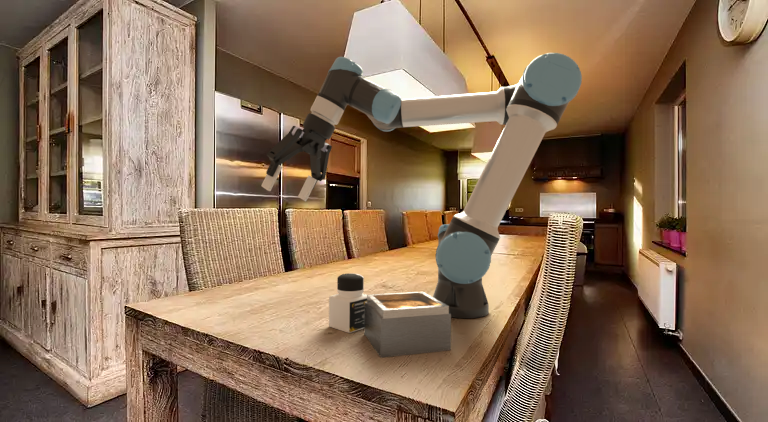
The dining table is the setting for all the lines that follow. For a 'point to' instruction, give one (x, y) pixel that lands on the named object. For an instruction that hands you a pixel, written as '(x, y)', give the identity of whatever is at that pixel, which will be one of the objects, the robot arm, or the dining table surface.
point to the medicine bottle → (348, 304)
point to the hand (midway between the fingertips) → (284, 194)
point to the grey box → (407, 323)
